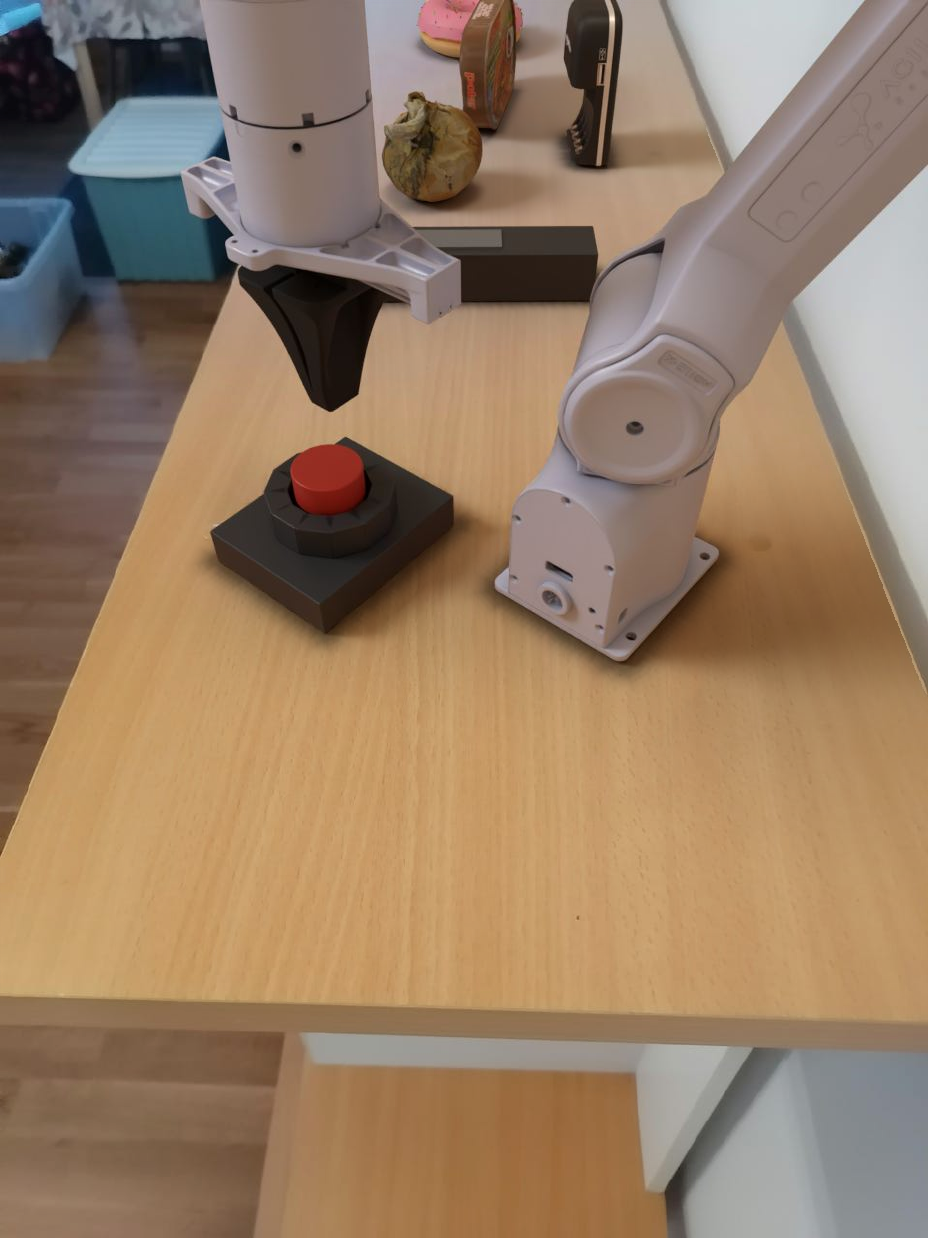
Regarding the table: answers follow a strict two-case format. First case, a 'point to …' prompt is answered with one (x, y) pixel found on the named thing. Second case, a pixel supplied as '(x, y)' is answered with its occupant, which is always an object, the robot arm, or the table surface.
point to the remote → (520, 261)
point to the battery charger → (593, 76)
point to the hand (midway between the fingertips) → (335, 397)
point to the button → (328, 479)
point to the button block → (333, 539)
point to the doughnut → (450, 24)
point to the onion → (431, 150)
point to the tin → (488, 61)
